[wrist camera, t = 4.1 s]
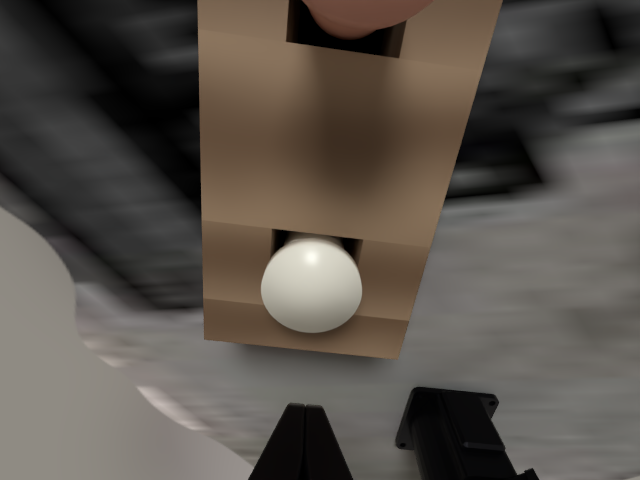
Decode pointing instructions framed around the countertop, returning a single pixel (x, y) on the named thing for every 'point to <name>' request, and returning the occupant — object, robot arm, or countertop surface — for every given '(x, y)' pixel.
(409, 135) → the socket board
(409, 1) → the brick plug
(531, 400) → the countertop surface
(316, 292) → the cream plug
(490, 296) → the countertop surface
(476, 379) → the countertop surface
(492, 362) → the countertop surface
